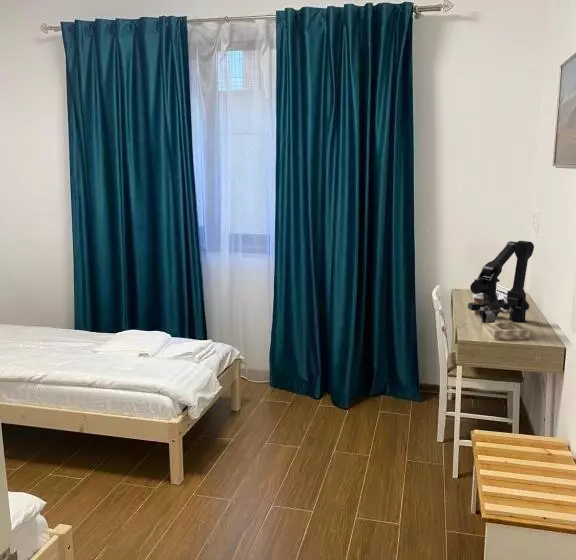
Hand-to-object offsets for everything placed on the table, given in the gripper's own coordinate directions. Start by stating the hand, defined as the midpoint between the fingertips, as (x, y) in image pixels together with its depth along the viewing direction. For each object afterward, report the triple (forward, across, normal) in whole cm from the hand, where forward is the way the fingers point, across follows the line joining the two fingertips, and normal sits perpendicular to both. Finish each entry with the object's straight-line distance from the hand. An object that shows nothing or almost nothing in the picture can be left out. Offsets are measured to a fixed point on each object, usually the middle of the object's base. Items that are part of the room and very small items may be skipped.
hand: (488, 323), depth 291 cm
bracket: (+2, 0, 0) cm, 2 cm away
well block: (+2, +2, -15) cm, 15 cm away
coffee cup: (+2, +5, +22) cm, 23 cm away
